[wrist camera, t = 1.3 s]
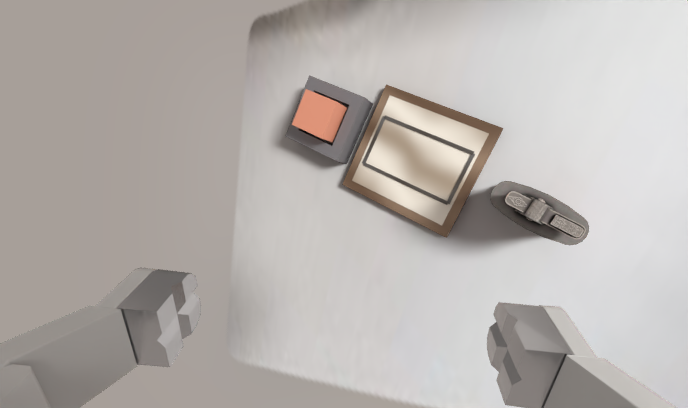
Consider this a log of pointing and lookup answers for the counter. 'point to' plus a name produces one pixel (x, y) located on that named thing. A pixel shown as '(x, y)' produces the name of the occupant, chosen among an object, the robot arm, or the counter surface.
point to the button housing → (348, 127)
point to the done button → (319, 115)
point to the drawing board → (421, 158)
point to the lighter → (539, 213)
